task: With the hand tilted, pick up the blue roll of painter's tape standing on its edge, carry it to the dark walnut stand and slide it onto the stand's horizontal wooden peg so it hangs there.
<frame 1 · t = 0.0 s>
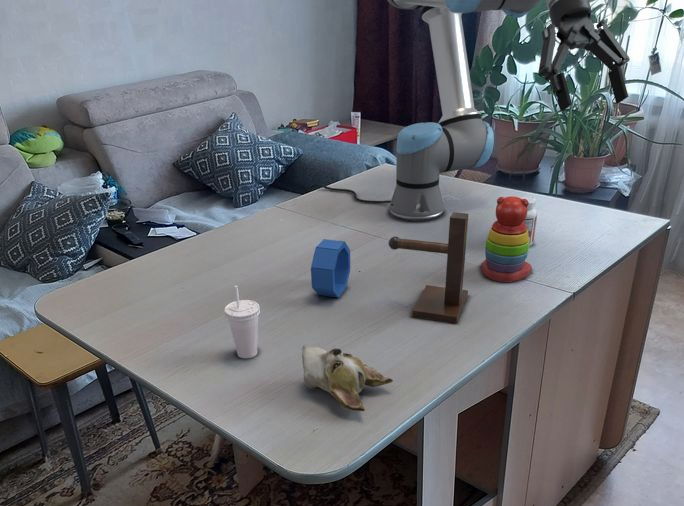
hand: (594, 104, 128), 36 cm above the table, tool tilted 35°, fingers open, 13 cm apart
stand: (440, 306, 134), on the table
stacking bear: (504, 274, 146), on the table
smoothie: (247, 353, 121), on the table
tape: (332, 291, 142), on the table
ceramic sculpture: (341, 393, 110), on the table
pill bottle: (520, 243, 161), on the table
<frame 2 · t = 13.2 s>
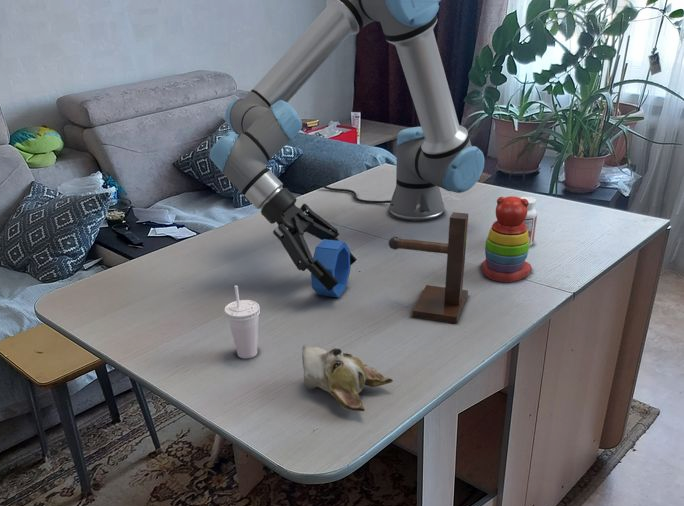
hand: (343, 274, 138), 4 cm above the table, tool tilted 45°, fingers closed on tape, 11 cm apart
tape: (332, 291, 142), on the table, touching gripper
everything else where it was.
when the fingers open (8 cm above the table, at t = 22.2 s): tape stays where it is, resting on stand.
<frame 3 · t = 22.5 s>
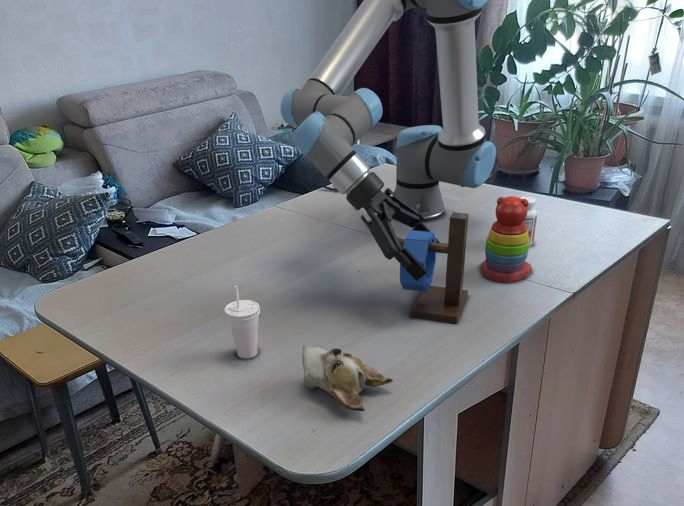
hand: (430, 262, 130), 10 cm above the table, tool tilted 45°, fingers open, 13 cm apart
tape: (417, 286, 134), point 4 cm above the table, touching stand
everything else where it was.
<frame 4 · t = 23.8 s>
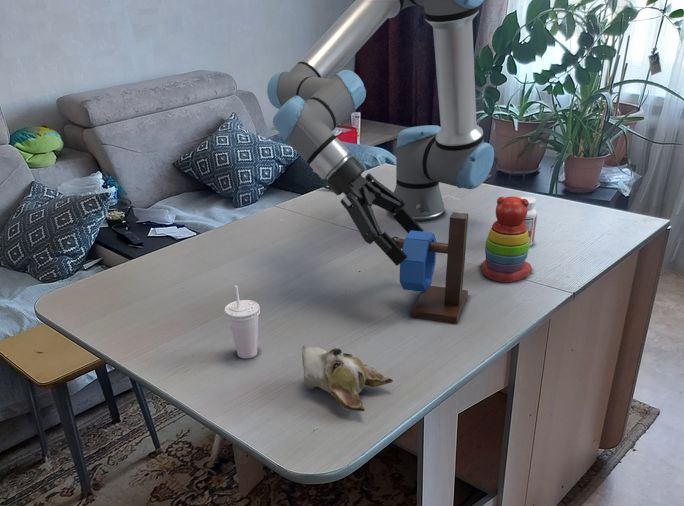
hand: (411, 247, 130), 12 cm above the table, tool tilted 45°, fingers open, 13 cm apart
nothing on the table moved.
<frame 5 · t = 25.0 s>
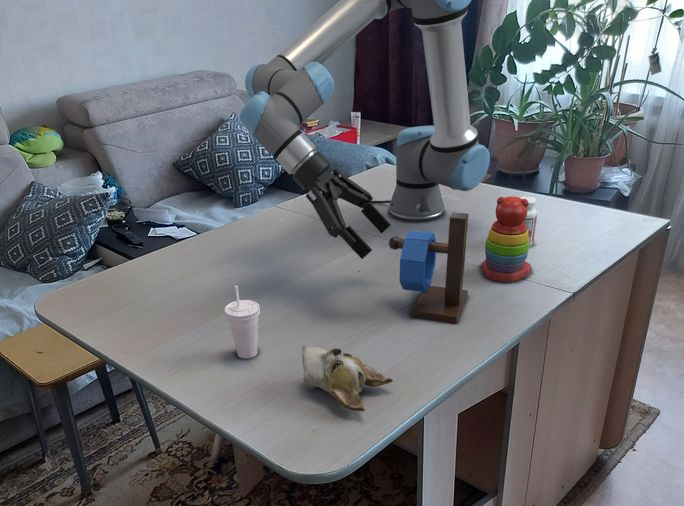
hand: (377, 241, 132), 13 cm above the table, tool tilted 45°, fingers open, 13 cm apart
nothing on the table moved.
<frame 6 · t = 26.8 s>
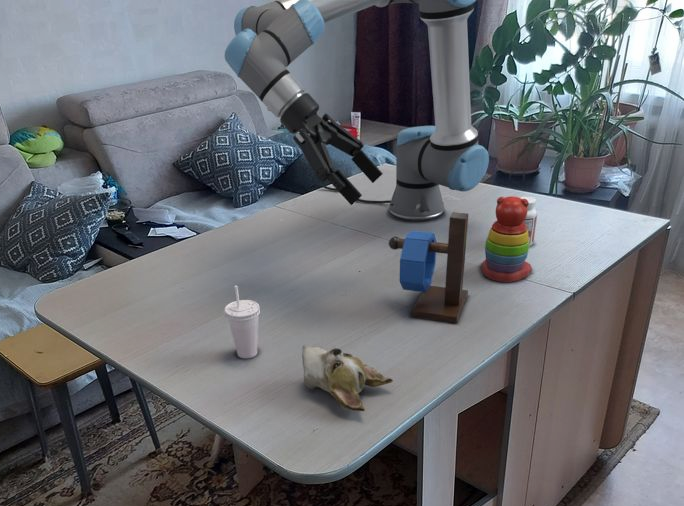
hand: (367, 189, 126), 24 cm above the table, tool tilted 45°, fingers open, 13 cm apart
nothing on the table moved.
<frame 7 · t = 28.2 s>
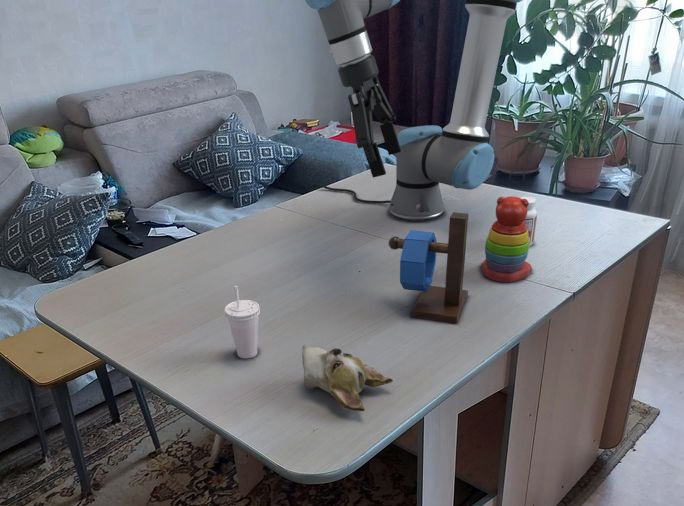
hand: (387, 164, 136), 25 cm above the table, tool tilted 20°, fingers open, 13 cm apart
nothing on the table moved.
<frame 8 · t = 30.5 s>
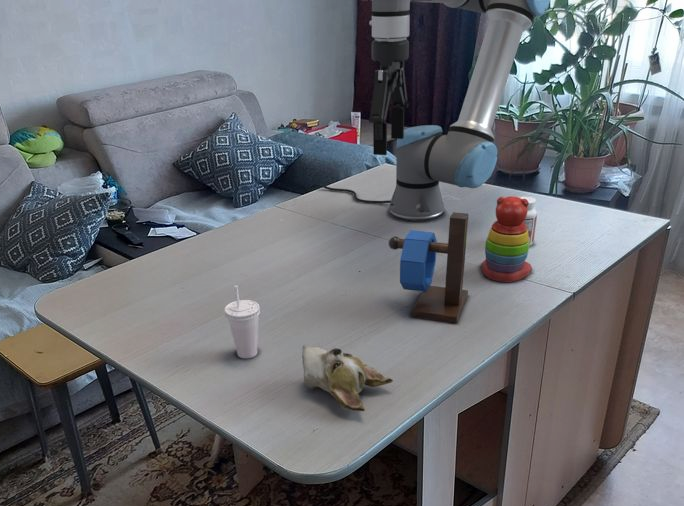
hand: (389, 146, 141), 27 cm above the table, tool pointing down, fingers open, 13 cm apart
nothing on the table moved.
at the end: tape inside the target area on the stand (0.4 cm from its centre), point 4.0 cm above the stand's base; tape tilted 1°; the gripper is holding nothing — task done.
